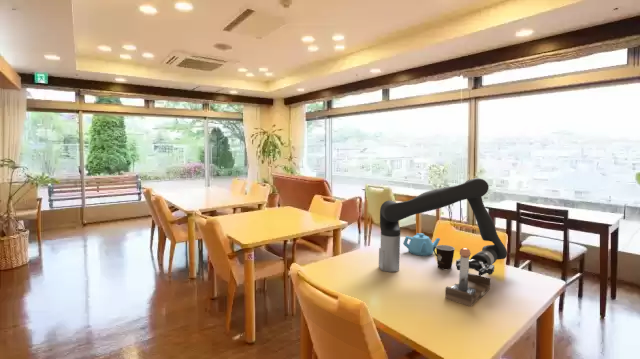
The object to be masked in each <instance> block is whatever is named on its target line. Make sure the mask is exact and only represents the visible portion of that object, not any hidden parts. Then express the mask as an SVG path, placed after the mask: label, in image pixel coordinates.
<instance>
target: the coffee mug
mask: <svg viewBox="0 0 640 359" xmlns="http://www.w3.org/2000/svg"><path fill="white" fill-rule="evenodd" d="M435 248H436V249H435ZM455 250H456V249H455V247H454V246H452V245H447V244H440V245H439V244H438V245H437V246H436V247H434V248H433V253H434V255H435V256H436V262H437V263H436V264H437V268H439V269H440V270H445V271H446V270H451V269H452V267H453V266H452V265H453V262H454V261H453V260H454V254H455Z"/></svg>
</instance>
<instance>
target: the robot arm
mask: <svg viewBox="0 0 640 359" xmlns="http://www.w3.org/2000/svg"><path fill="white" fill-rule="evenodd" d="M489 188H490V187H489V183H488V182H487V181H486V180H485V179H483V178H479V177H476V178H471V179H467V180H465V182H463V183H460V184H457V185H454V186H446V187H439V188H436V189H432V190H429V191H425V192H422V193H421V194H418V195H417V196H415V197H414V198H412V199H408V200H405V201H400V202H395V201H394V200H385V201H384V202H383V203H381V206H380V209H379V227H380V247H378V248H379V249H378V268H379V269H380V270H381V271H382V272H390V273H393V272H394V273H395V272H398V271H400V256H401V255H400V254H401V253H400V252H401V249H400V248H401V228H400V224H399V221H401V220H404V219H406V218H409V217H411V216H414V215H418V214H422V213H426V212H427V213H428V212H431V211H435V210H439V209H442V208H445V207H448V206H451V205H453V204H456V203H458V202H461V201H464V200H467V202H468V203H469V206H470V208H471V211H472V213H473V215H474V217H475V220H476V224H477V227H478V230H479V233H480V236H481V240H482V241H484V242H492V243H493V244H490V245H489V244H488V245H485V246H483V247H482V248H481V250H479V251H478V252H477V253H475V254H474V255H472V256H470V258H469V270H474V271H476V272H478V274H477V275H479V276H484V275H486V274H487V275H489V276H490V275H493V273H494V272H495V265H494V263H496V261H497V260H504V259H506V258H507V257H508V250H507V248H506V246H505V245H504V243H503V241H502V240H501V238H500V237H499V235H498V232H497V228H496V227H495V222H494V220H493V219H492V216H491V215H490V214H489V212H488V210H487V208H486V205H484V202H483V196H485V195H486V194H487V193H488V191H489ZM455 266H456V270H457V271H460V258H458V259H456V261H455Z"/></svg>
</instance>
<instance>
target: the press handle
mask: <svg viewBox="0 0 640 359" xmlns="http://www.w3.org/2000/svg"><path fill="white" fill-rule="evenodd" d="M471 254H472V252H471V251H470V249H469V248H467V247H462V248H461V249H460V250H459V256H460V257H459V259H460V270H459V274H458V275H459V276H458V283H455V284H453V285H452V286H450V287H451V288H454V289H458V290H461V291H464V292H468V293H471V294H473V296H474V295H475V294H476V289H473V288H469V287H468V273H469V270H470V269H469V260H470V257H471Z"/></svg>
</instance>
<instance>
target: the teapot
mask: <svg viewBox="0 0 640 359" xmlns="http://www.w3.org/2000/svg"><path fill="white" fill-rule="evenodd" d="M409 240H410V241H409ZM408 241H409V243H408ZM440 241H441V238H440V237H436V238H435V240H434V241H432V239H430V236H427V235H425V233H422V232H420V233H419V232H416V234H415V235H413V237H412V236H409V235H408V236H407V235H406V236H405V238H404V240H403V242H402V243H403V245H404V247H405V248H407V249H408V251H409V253H411V255H416V256H421V257H425V256H426V257H427V256H430V255H432V254H433V253H434V251H433V248H434V247H436V246H438V245H439V242H440ZM435 250H436V248H435Z"/></svg>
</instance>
